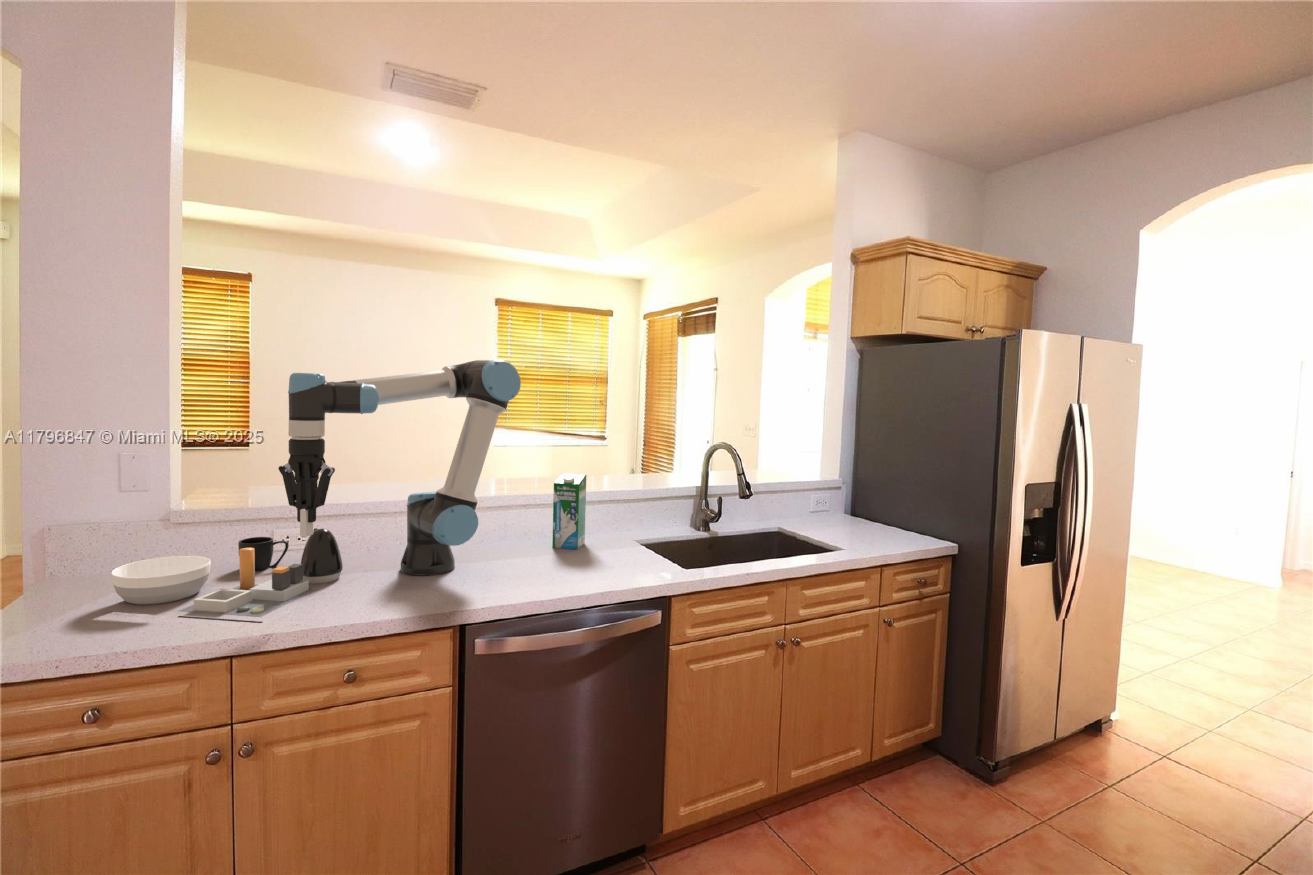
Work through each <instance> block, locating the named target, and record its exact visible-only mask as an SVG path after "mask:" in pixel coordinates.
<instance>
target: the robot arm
mask: <svg viewBox="0 0 1313 875" xmlns="http://www.w3.org/2000/svg"><path fill="white" fill-rule="evenodd" d="M521 383H522V381H521V376H520V373H519V371H518V369H517V368H516V367H515V366H514V365H513V364H512V363H510V362H509V361H506V360H503V359H502V360H501V359H496V358H494V359H484V360H483V359H477V360H471V361H468V362H462V363H459V364H453V365H447V366H446V365H445V366H443V367H442V369H441V370H434V371H433V370H431V371H424V372H416V373H414V372H413V373H406V374H395V375H389V376H387V375H386V376H380V377H372V378H371V377H370V378H362V379H354V380H343V381H336V382H335V381H327V380H326V376H325V375H324V374H323V373H314V372H313V373H311V372H310V373H309V372H293V373H292V374H290V375H289V380H288V391H287V393H288V432H287V433H288V435H287V436H289V437H290V438H289V440H288V454H289V458H288V461H287V463H285V464H283V465H280V466H278V471H279V473H280V474H281V476H282V480H283V485H284V488H285V492H286V497H287V498H286V499H287V503H288V505H289V506H290V507H295V508H296V510H297V511H296V512H297V513H296V515H297V517H296V520H297V523H299V535H300V536H299V537H302V538H303V537H304V538H305V537H309V536H310V535H313V532H314V522H316V521H317V508H319V507H322V506H325V504H326V499H327V495H328V492H329V486H330V483H331V479H332V478H331V477H332V476H333V475H334V473H335V471H336V468H335V467H330V466H329V465H328V464H327V463H326V460H325V457H324V455H325V452H326V448H325V447H326V442H325V439H324V438H323V437H325V434H326V433H325V431H326V430H325V428H326V427H325V426H326V425H325V423H326V414H361V415H363V414H373V413H375V412H376V411H377V409H378V408H379V407H378V406H379V405H381V406H382V405H388V404H389V405H390V404H395V403H403V402H409V401H417V400H424V399H433V398H440V397H446V398H448V399H456V398H465V399H466V401H467V404H468V406H469V407H468V410H467V413H466V415H465V419H464V423H463V426H462V429H461V432H460V435H459V438H458V441H457V444H456V448H455V450H454V454H453V458H452V460H451V463H450V466H449V470H448V473H447V476H446V479H445V482H444V485H443V487H441V488H438V489H437V490H435V491H426V492H425V491H424V492H415V493H410V494H409V495H408V497H407V501H406V510H407V511H406V532H407V533H406V534H407V535H406V546H405V550H404V552H403V555H402V558H401V560H400V571H401V572H402V573H403V574H407V575H410V576H411V575H412V576H433V575H434V576H435V575H441V574H445V573H447V572H451V571H452V570H454V569H455V567H456V566H455V556H454V554H453V551H452V548H451V547H453V546H454V547H457V546H460V545H461V546H462V545H463V544H465V543H467V542H468V541H469V540H471V538H473V537H474V536H475V534H476V532H477V529H478V527H479V517H478V515H477V513H476V508H477V507H478V506H477V505H478V502H479V500H478V499H477V497H476V496H475V495H476V494H475V493H476V490H477V486H478V484H479V480H480V477H481V474H482V471H483V468H484V463H485V461H486V458H487V455H488V451H489V449H490V448H489V447H490V444H491V441H492V438H493V436H494V432H495V429H496V426H497V422H498V419H499V416H500V415H501V414H503V413H505V412H506V411H507V407H508V405H509V401H511V400H513V399H514V398H516V397H517V395H518V394H519V393H520V390H521V386H522V384H521Z"/></svg>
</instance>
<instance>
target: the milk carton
mask: <svg viewBox="0 0 1313 875" xmlns="http://www.w3.org/2000/svg"><path fill="white" fill-rule="evenodd" d="M552 500H553V502H552V503H553V506H552V549H553V548H554V549H556V548H557V549H563V550H564V549H566V550H567V549H568V550H579V548H581V547H582V546H583V545H584V544H585V542H586V541H585V540H586V539H585V538H586V537H585V536H586V510H587V508H586V506H587V504H586V500H587V474H585V473H584V474H581V473H564V472H563V473H561V474H560V476H559V477H557V479H556V480H555V481H554V482H553V499H552Z"/></svg>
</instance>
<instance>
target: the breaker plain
mask: <svg viewBox="0 0 1313 875" xmlns="http://www.w3.org/2000/svg"><path fill="white" fill-rule="evenodd" d="M287 567H289V570H290V583H297V582H299V581H302V580H303V564H301V563H292V564H290V565H288V566H287Z"/></svg>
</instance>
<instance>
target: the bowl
mask: <svg viewBox="0 0 1313 875" xmlns="http://www.w3.org/2000/svg"><path fill="white" fill-rule="evenodd" d="M211 563H212V561H211V559H210V558H209V557H204V556H198V555H174V556H173V555H172V556H171V555H170V556H160V557H156V558H147V559H142V560H137V561H132V562H130V563H127V564H126V563H125V564H123V565H120V566H118V567H116V568H114V569H113V570H112V571H111V574H110V575H111V583H112V585H113V587H114V590H115V593H116V594H117V595H118V596H119V597H120V598H121V599H122V600H123V601H124V602H126V603H129V604H133V605H142V606H143V605H146V606H147V605H159V604H166V603H172V602H177V601H180V600H184V599H187V598H189V597H191V596H194V595H195V594H197V593H198V592H200V591H201V590H202V588H203V587H204V585H205V584H206V583H207V581H208V580H209V576H210V572H211Z"/></svg>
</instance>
